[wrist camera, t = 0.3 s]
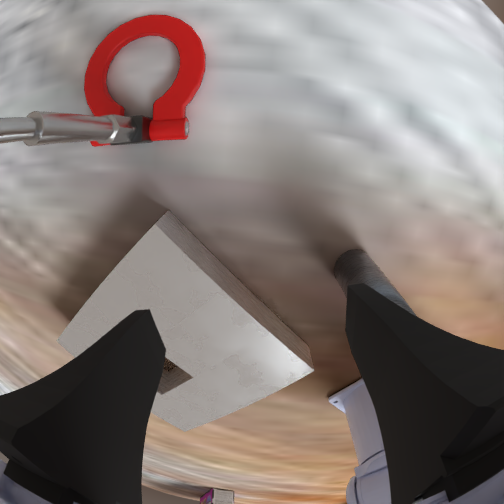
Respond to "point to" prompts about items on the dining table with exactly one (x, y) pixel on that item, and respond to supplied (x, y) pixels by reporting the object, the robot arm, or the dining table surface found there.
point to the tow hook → (106, 109)
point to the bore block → (194, 327)
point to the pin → (366, 276)
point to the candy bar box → (218, 497)
